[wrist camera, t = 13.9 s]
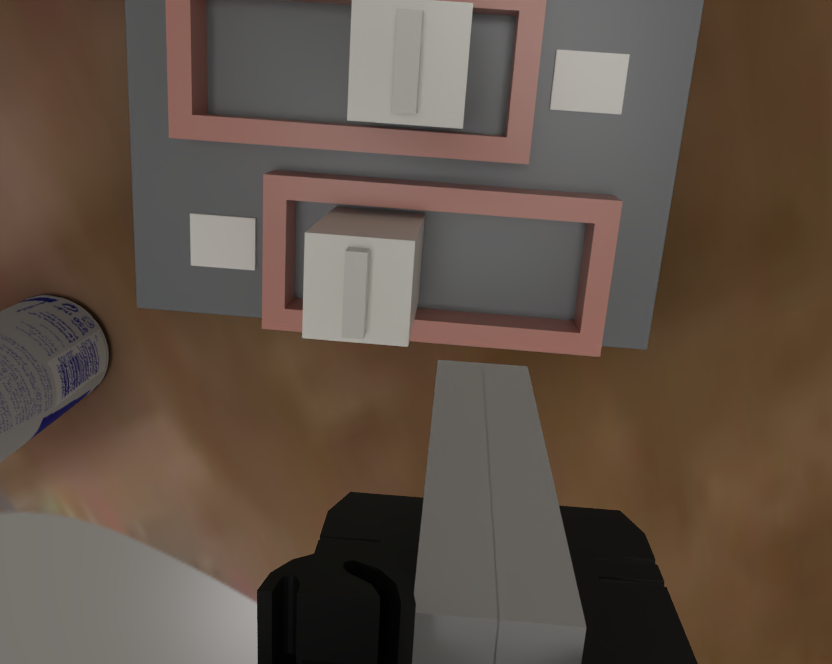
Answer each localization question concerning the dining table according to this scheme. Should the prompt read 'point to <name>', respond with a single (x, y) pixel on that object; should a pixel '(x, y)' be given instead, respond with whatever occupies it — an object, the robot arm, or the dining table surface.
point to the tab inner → (409, 62)
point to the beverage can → (45, 365)
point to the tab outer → (362, 276)
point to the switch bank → (414, 164)
